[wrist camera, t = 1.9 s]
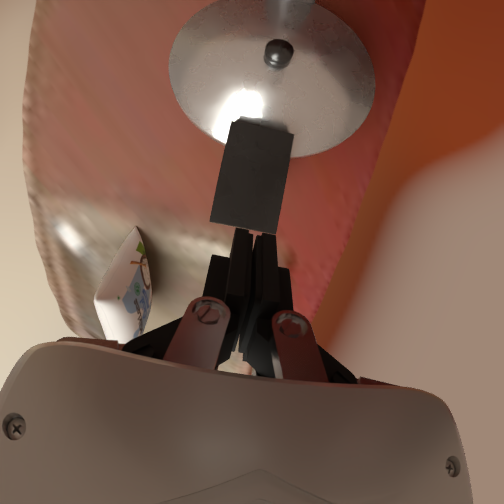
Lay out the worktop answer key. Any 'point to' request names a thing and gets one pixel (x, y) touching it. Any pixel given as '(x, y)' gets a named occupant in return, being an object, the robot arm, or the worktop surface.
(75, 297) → the worktop surface
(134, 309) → the pouch
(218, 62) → the cooker lid
